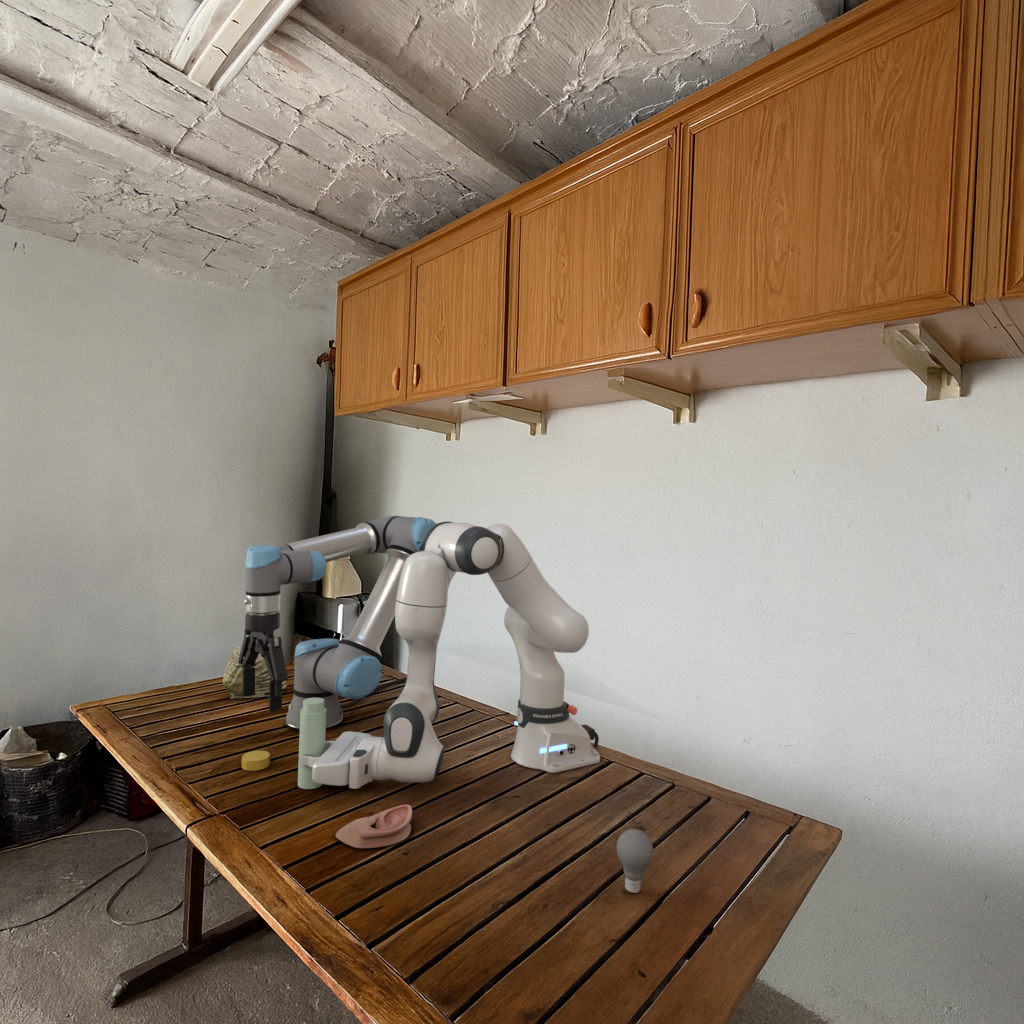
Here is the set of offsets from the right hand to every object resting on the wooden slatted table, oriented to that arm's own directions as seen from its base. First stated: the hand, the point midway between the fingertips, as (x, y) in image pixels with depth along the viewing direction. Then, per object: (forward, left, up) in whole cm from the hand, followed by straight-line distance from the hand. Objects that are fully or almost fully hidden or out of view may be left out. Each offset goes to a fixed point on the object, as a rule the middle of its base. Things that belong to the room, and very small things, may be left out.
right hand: (307, 753), depth 140 cm
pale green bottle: (-1, 0, -7) cm, 7 cm away
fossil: (+12, -67, -7) cm, 69 cm away
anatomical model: (-11, +25, -7) cm, 28 cm away
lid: (+11, -13, -5) cm, 17 cm away
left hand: (+10, -13, +8) cm, 18 cm away
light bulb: (-49, +55, -7) cm, 74 cm away
